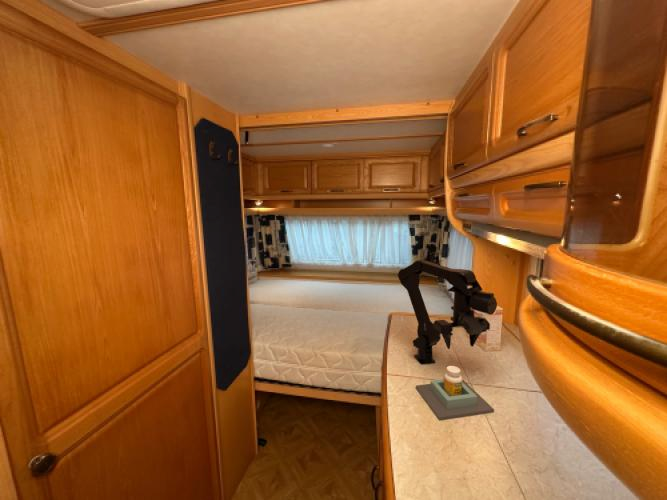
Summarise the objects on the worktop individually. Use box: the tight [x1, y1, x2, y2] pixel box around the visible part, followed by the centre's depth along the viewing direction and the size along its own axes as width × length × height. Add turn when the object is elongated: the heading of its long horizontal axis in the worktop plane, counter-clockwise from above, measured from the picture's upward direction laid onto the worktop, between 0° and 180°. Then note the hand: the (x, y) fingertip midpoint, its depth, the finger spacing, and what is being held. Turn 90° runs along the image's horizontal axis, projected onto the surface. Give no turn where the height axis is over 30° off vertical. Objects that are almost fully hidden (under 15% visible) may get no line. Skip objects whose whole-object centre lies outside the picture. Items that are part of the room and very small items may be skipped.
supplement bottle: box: [443, 365, 463, 397], centre depth 88 cm, size 5×5×10 cm
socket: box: [415, 378, 495, 421], centre depth 88 cm, size 15×18×4 cm
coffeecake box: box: [466, 305, 504, 352], centre depth 124 cm, size 15×7×20 cm, turn 4°
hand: (460, 347), depth 98 cm, fingers open, 9 cm apart
